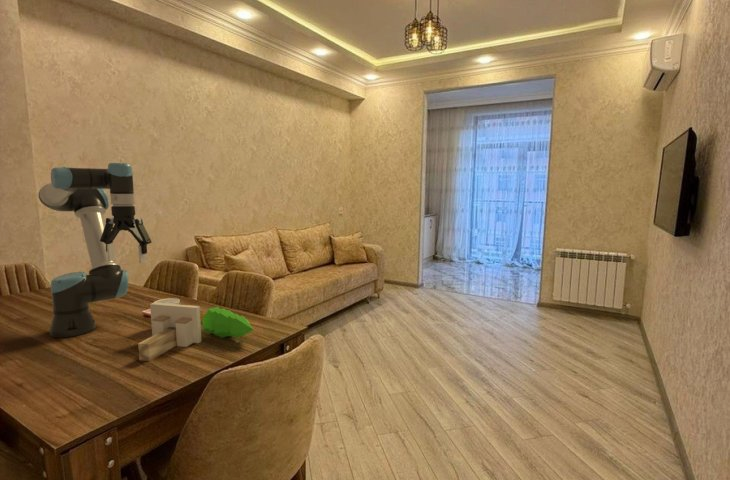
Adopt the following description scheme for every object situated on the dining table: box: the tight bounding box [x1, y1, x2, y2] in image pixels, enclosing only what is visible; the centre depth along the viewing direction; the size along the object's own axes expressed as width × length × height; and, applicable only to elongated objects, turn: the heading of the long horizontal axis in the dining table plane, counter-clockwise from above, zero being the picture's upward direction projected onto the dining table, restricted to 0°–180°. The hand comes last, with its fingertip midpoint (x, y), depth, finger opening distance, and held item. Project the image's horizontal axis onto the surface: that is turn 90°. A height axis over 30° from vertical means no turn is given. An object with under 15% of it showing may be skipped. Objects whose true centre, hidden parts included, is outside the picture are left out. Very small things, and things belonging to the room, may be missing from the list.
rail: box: [137, 327, 177, 362], centre depth 143 cm, size 4×16×6 cm, turn 169°
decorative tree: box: [200, 306, 254, 339], centre depth 157 cm, size 11×12×30 cm
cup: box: [153, 297, 181, 305], centre depth 167 cm, size 10×10×11 cm
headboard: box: [149, 302, 202, 348], centre depth 151 cm, size 20×6×14 cm, turn 78°
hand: (127, 261), depth 150 cm, fingers open, 13 cm apart
